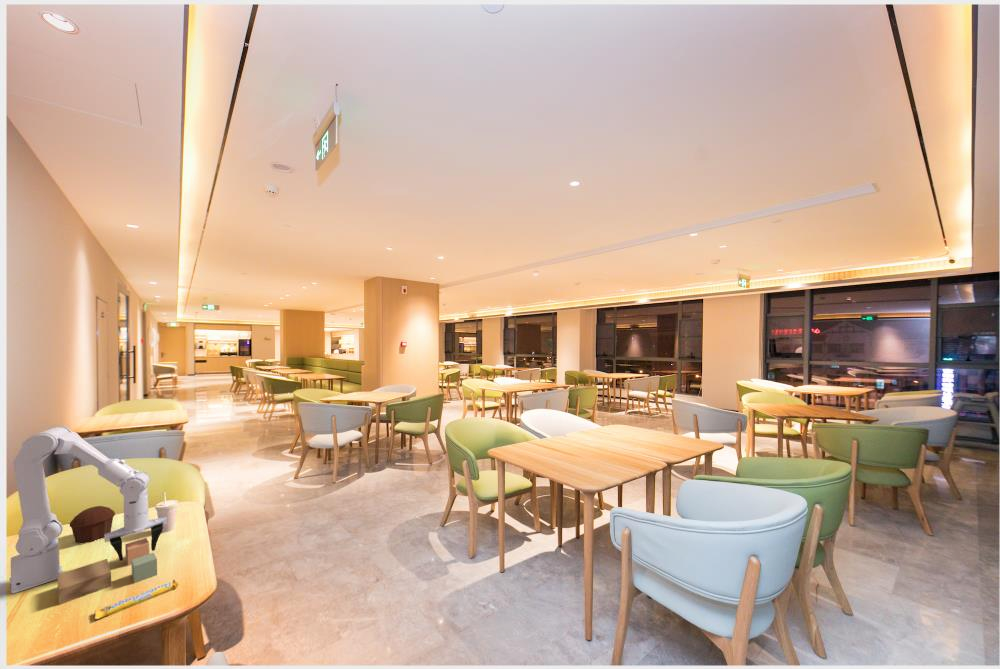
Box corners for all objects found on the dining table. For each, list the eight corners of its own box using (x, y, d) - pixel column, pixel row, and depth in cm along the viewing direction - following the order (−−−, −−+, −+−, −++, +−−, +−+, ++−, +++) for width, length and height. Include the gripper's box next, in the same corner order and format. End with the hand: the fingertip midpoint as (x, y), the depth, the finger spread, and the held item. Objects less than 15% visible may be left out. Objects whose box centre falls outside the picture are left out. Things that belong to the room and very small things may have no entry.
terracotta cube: (128, 565, 123) (127, 549, 123) (125, 559, 126) (125, 544, 126) (149, 558, 126) (149, 543, 126) (146, 552, 130) (146, 537, 130)
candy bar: (176, 583, 115) (176, 576, 115) (179, 589, 112) (179, 582, 112) (93, 615, 102) (93, 608, 102) (95, 623, 99) (94, 616, 99)
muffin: (81, 532, 143) (80, 505, 143) (121, 525, 147) (120, 499, 147) (62, 549, 132) (61, 519, 132) (106, 541, 137) (105, 512, 136)
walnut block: (59, 604, 105) (58, 590, 105) (57, 588, 112) (57, 574, 112) (111, 585, 113) (110, 572, 113) (107, 571, 120) (107, 558, 119)
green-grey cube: (134, 583, 114) (134, 566, 114) (131, 576, 117) (131, 559, 117) (157, 575, 118) (156, 558, 118) (154, 568, 121) (153, 552, 121)
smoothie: (155, 529, 144) (154, 491, 144) (177, 523, 149) (176, 486, 148) (156, 536, 140) (155, 497, 139) (179, 529, 144) (178, 491, 144)
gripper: (105, 525, 118) (106, 570, 118) (168, 507, 129) (169, 549, 129) (103, 517, 122) (104, 561, 123) (163, 501, 133) (164, 541, 134)
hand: (137, 554), depth 126 cm, fingers open, 7 cm apart
